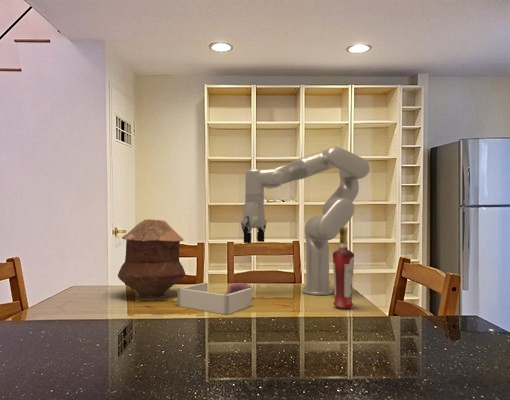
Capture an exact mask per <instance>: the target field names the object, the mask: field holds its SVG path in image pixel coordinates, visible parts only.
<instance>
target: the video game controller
mask: <svg viewBox="0 0 510 400" xmlns="http://www.w3.org/2000/svg"><path fill="white" fill-rule="evenodd" d="M248 288H252V292H253V291H254V290H253V289H254V288H253V287H252V286H251V285H249V284H247V283H244V282H237V283H235V282H233V283H231V284H230V285H229V286H228V289H227V291H226V293H225V295H227V294H231V293H234V292H238V291H241V290H245V289H248Z"/></svg>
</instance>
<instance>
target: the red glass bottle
mask: <svg viewBox="0 0 510 400" xmlns="http://www.w3.org/2000/svg"><path fill="white" fill-rule="evenodd" d="M347 235H348V227H344V228H343V227H340V228H339V245H338V249H337V250H335V251H333V252H332V267H333V270H332V271H333V285H334V286H333V287H334V288H333V289H334V290H333V294H334V301H333V305H334V307H336V309H339V310H350V309H351V308H352V307H353V306H354V303H353V284H354V283H353V281H354V265H355V264H354V263H355V262H354V261H355V254H354V252H352V251H351V250H349V249H348V240H347V238H348V236H347Z"/></svg>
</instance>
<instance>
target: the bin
mask: <svg viewBox="0 0 510 400" xmlns="http://www.w3.org/2000/svg"><path fill="white" fill-rule="evenodd" d="M252 289H253V287H252V288H248V289H245V290H241V291H238V292H234V293H231V294H227V295H226V294H223V293H216V292H209V291H208V282H202V283H197V284H193V285H188V286H183V287H179V288H177V294H176V295H177V297H176V298H177V304H176V305H177V307H180V308H182V307H183V308H187V309H193V310H198V311H203V312H210V313H214V314H215V313H216V314H220V315H225V316H226V315H229V314H233V313H235V312H238V311H242V310H243V309H246V308H249V307H251V306H253V291H252Z"/></svg>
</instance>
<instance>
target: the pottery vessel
mask: <svg viewBox="0 0 510 400" xmlns="http://www.w3.org/2000/svg"><path fill="white" fill-rule="evenodd" d="M121 239H122V240H126V241H125V258H124V262H123V263H122V265H121V267H120V268H119V272H118V273H117V277H118V279H119V280H120V281H121V282H122V283H123V284H125V285H126V286H127V287H129V288H130V289H132V290H134V291H135V292H136V293H137V295H138V296H139V297H140V298H159V297H163V296H165V293H166V292H167V291H168V290H169V289H170V288H172V287H173V286H174V285H175V284H177V283H178V282H179V281H180V280H182V279H183V278H184V277H185V276H186V271H185V268H184V266H183V265H182V263H181V262H180V249H181V248H180V246H181V244H180V243H181V242H183V241H184V238H183V237H182V236H181V235H179V233H177V232H176V231H175V230H174V229H173V228H172V226H170V225H169V223H168V222H167V221H166V220H163V219H143V220H142V221H140V222H139V223H137V224H136V225H135V226H134V227H133V228H132V229H131V230H130V231H129V232H128V233H126V234H124V235H123V236H122V237H121Z"/></svg>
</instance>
